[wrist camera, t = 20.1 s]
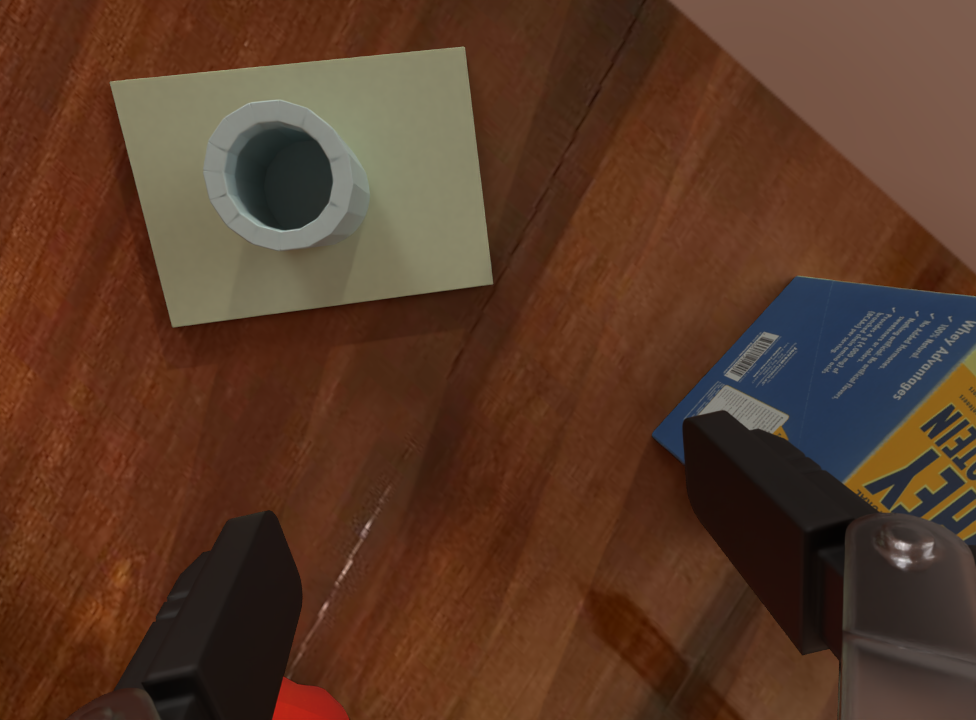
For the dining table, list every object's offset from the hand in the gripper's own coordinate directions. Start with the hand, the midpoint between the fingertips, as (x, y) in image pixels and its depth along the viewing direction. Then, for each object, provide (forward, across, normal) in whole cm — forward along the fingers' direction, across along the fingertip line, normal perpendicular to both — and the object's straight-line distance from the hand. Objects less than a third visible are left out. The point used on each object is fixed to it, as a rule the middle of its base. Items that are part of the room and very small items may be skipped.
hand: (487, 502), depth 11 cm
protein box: (+26, -21, +14) cm, 37 cm away
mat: (+28, +6, -6) cm, 29 cm away
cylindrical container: (+27, +6, -6) cm, 28 cm away
